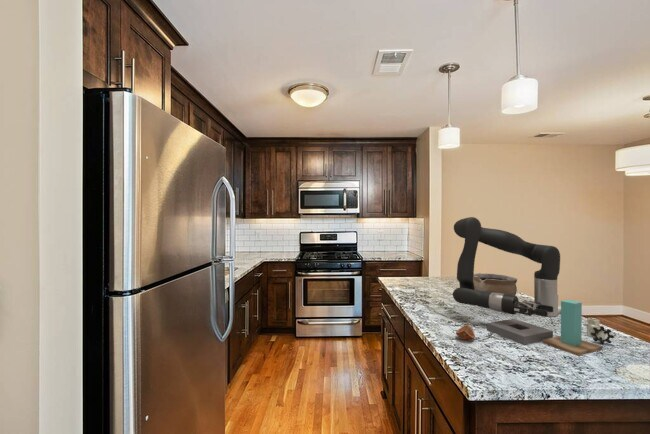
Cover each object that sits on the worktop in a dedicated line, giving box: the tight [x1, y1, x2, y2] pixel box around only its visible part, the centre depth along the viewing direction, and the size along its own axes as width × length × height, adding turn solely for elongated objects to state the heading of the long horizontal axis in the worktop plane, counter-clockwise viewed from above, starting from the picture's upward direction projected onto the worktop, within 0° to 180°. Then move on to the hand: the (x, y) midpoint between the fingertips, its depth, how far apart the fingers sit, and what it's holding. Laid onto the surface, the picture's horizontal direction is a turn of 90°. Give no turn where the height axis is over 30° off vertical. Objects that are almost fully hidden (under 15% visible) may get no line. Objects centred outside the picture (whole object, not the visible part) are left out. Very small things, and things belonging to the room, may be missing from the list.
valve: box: [586, 317, 615, 346], centre depth 122 cm, size 7×7×12 cm
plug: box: [560, 299, 583, 346], centre depth 115 cm, size 4×4×15 cm
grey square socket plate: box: [486, 318, 554, 346], centre depth 126 cm, size 16×16×3 cm
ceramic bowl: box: [473, 272, 518, 296], centre depth 172 cm, size 22×22×15 cm
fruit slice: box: [455, 323, 476, 341], centre depth 120 cm, size 8×7×5 cm
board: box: [541, 335, 603, 357], centre depth 115 cm, size 14×12×1 cm
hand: (550, 311), depth 119 cm, fingers open, 8 cm apart
